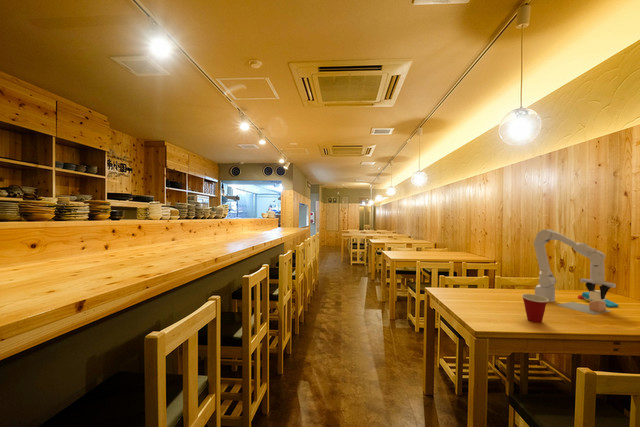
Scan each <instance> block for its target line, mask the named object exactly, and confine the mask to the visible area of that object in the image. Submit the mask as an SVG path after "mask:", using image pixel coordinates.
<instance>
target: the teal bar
mask: <svg viewBox="0 0 640 427" xmlns="http://www.w3.org/2000/svg"><path fill="white" fill-rule="evenodd" d="M577 299H579V300H588V301H594V300H590V299H589V291H583V292H582V294H579V295H578V296H577ZM603 301H604V302H606V308H618V307H619V304H617V303H616V302H614V301H611V300H609V299H608V298H606V300H603Z"/></svg>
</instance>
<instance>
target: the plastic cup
mask: <svg viewBox="0 0 640 427" xmlns="http://www.w3.org/2000/svg"><path fill="white" fill-rule="evenodd" d="M521 297H522V299H523V304H524V309H525V314H526V318H527V321H529V322H532V323H538V324H539V323H541V324H542V323H543V319H544V315H545V311H546V306H547V304H548V301H549V300H548V299H547V298H545V297H542V296H539V295H535V294H533V293H522V294H521Z"/></svg>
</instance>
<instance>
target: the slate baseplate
mask: <svg viewBox="0 0 640 427" xmlns="http://www.w3.org/2000/svg"><path fill="white" fill-rule="evenodd" d="M556 306H558V307H561V308H566V309H570V310H573V311H577V312H581V313H586V314H589V315H593V316H595V315H600V314H606V313H609V312H611V310H610V309H606V310H604V311H600V312H598V311H594V310H589V305H588V304H584V303H583V304H582V303H579V302H574V301H570V302H563V303H559V304H556Z"/></svg>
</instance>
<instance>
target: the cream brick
mask: <svg viewBox="0 0 640 427" xmlns="http://www.w3.org/2000/svg"><path fill="white" fill-rule="evenodd" d="M588 292H589V299H590V300H589V301H591V300H595V301H603V300H606V299H607V294H606V295H605V299H601V292H600V289H599V290H597V289H595V290H593V291H589V290H588Z"/></svg>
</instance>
